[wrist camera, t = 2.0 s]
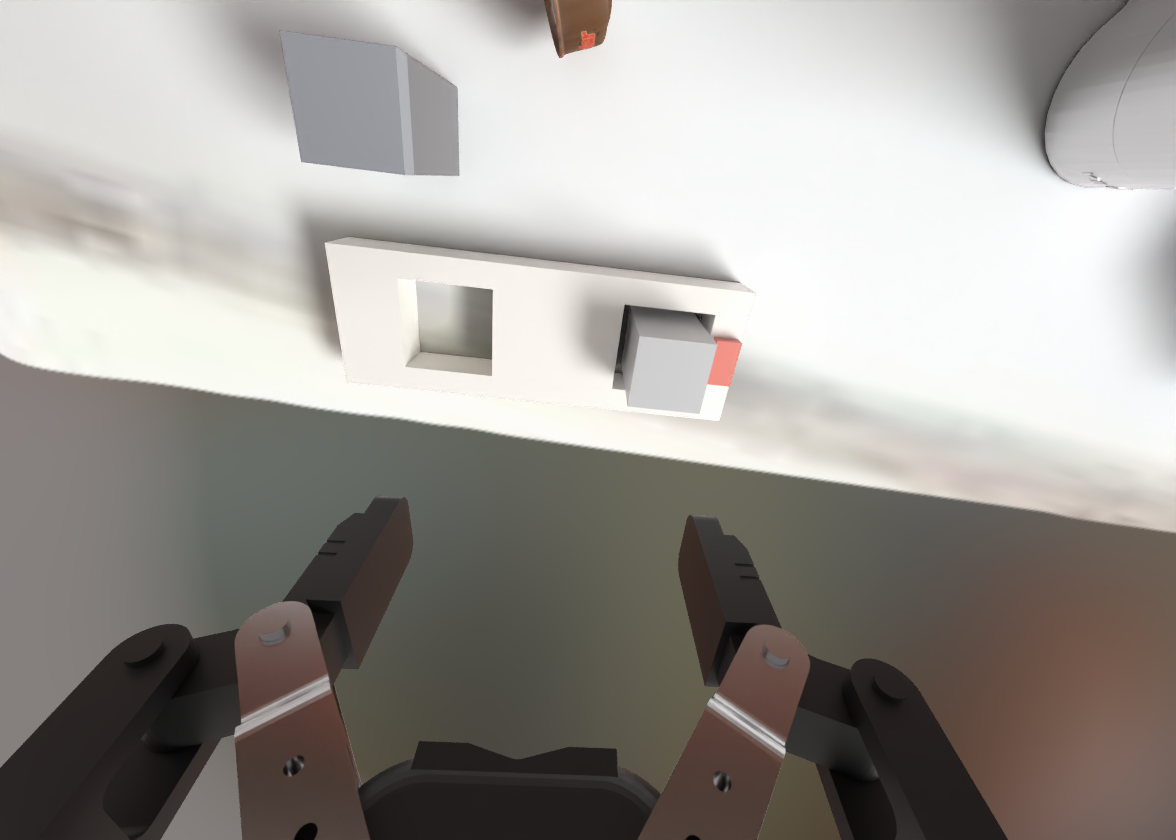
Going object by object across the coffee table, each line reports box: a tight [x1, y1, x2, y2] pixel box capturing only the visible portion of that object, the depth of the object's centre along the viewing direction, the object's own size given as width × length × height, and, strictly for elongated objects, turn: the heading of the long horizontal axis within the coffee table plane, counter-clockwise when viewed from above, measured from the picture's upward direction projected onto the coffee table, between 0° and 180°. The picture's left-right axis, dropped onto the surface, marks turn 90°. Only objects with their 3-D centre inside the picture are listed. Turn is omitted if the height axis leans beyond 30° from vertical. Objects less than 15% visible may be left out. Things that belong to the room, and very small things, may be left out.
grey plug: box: [621, 305, 717, 414], centre depth 29 cm, size 4×4×7 cm
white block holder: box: [325, 237, 755, 421], centre depth 30 cm, size 9×26×4 cm, turn 84°
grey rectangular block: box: [280, 31, 459, 176], centre depth 22 cm, size 4×4×9 cm
